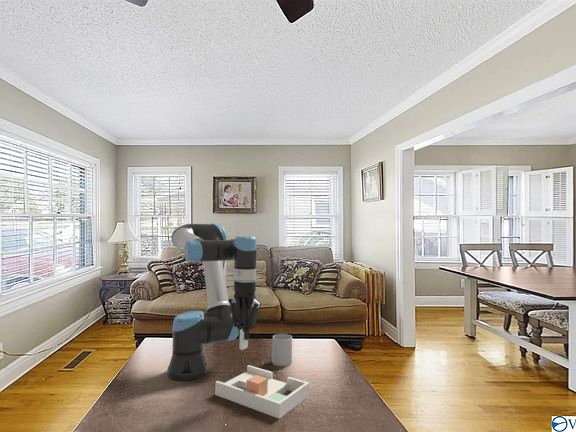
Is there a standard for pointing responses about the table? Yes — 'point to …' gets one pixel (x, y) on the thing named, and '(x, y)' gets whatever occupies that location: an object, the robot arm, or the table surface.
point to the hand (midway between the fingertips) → (243, 348)
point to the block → (257, 385)
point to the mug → (282, 350)
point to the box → (276, 399)
